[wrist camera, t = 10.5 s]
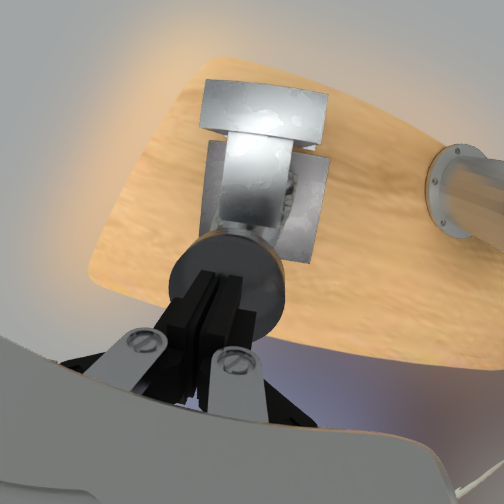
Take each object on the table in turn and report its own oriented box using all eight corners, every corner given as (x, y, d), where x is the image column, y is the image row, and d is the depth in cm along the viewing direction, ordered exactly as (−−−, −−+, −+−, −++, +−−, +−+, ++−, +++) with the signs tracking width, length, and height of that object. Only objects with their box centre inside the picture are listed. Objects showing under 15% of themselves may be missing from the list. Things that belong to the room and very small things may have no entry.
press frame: (335, 121, 30) (387, 94, 14) (309, 262, 36) (327, 350, 20) (214, 103, 30) (154, 65, 14) (198, 244, 36) (140, 316, 20)
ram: (288, 198, 23) (295, 252, 11) (278, 255, 25) (273, 353, 13) (227, 189, 24) (170, 231, 11) (220, 246, 25) (168, 333, 13)
